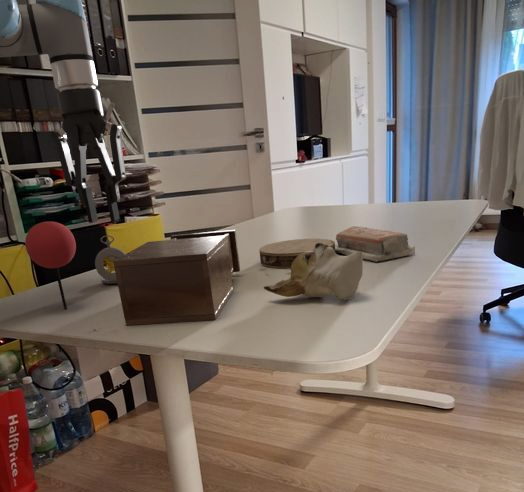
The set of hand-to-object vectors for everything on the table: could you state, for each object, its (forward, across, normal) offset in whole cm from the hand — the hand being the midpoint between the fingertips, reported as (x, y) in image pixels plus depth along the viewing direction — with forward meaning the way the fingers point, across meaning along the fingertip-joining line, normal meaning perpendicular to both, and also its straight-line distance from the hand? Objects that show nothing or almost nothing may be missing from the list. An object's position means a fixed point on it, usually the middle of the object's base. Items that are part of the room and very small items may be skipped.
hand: (104, 220), depth 103 cm
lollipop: (+13, +2, +18) cm, 22 cm away
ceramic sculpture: (+13, -42, +21) cm, 49 cm away
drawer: (+12, -20, +6) cm, 24 cm away
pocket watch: (+13, 0, 0) cm, 13 cm away
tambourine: (+13, -37, -9) cm, 40 cm away
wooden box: (+13, -20, +22) cm, 32 cm away
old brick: (+13, -52, -10) cm, 54 cm away
